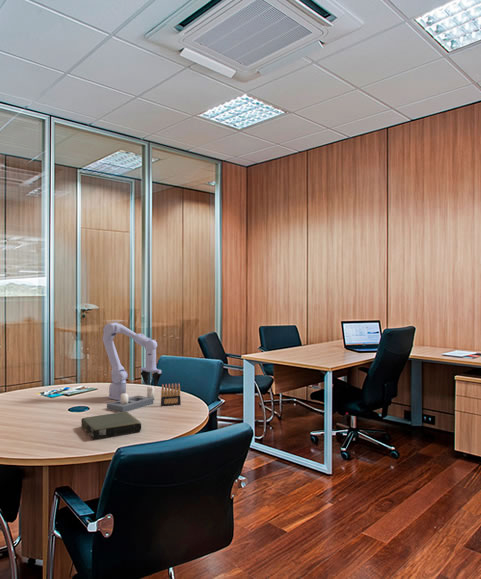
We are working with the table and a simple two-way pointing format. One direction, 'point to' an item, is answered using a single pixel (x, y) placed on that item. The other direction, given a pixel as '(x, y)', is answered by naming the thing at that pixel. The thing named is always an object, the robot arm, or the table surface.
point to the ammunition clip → (170, 395)
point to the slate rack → (129, 403)
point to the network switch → (110, 425)
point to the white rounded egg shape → (150, 392)
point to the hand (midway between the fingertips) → (150, 384)
